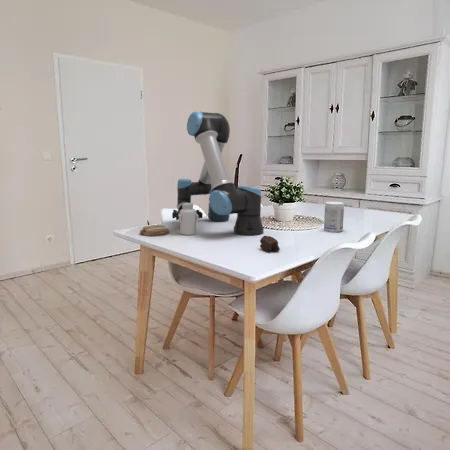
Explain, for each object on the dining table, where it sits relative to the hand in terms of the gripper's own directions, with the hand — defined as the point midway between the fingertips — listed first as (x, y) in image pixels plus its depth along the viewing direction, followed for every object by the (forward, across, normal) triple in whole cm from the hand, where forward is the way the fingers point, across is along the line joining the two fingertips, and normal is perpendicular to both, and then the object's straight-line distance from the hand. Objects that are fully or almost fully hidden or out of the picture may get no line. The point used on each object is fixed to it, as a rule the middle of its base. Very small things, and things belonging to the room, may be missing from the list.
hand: (188, 218), depth 178 cm
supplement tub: (-1, -75, -7) cm, 76 cm away
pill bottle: (-4, 0, -8) cm, 9 cm away
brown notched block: (+33, -31, -7) cm, 46 cm away
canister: (-39, -21, -8) cm, 45 cm away
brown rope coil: (-7, +16, -9) cm, 20 cm away
